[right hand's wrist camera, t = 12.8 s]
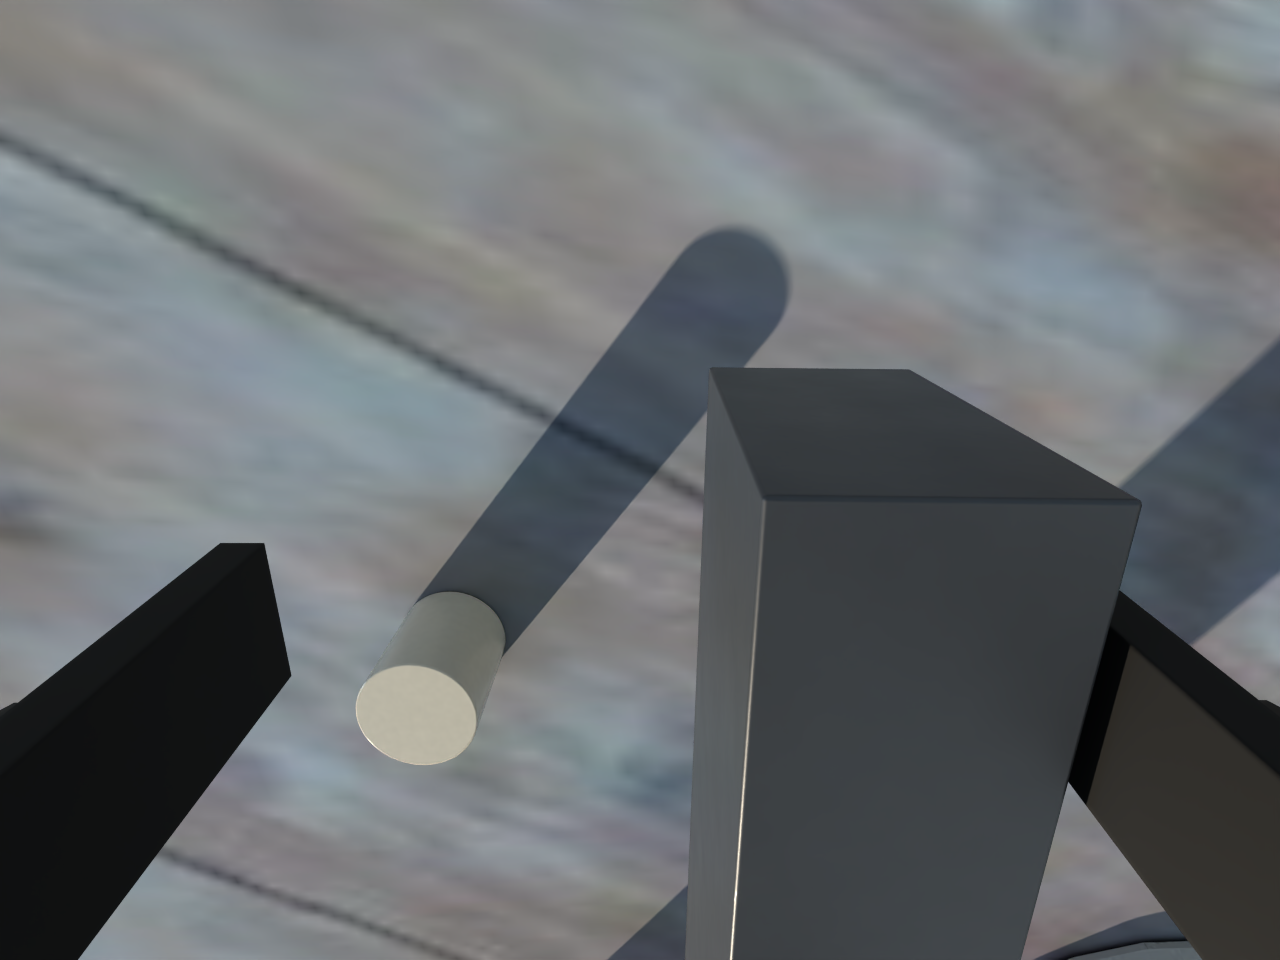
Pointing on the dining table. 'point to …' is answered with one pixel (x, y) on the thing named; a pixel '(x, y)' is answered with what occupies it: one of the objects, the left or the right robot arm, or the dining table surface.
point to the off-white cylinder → (432, 680)
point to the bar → (886, 667)
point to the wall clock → (1146, 952)
